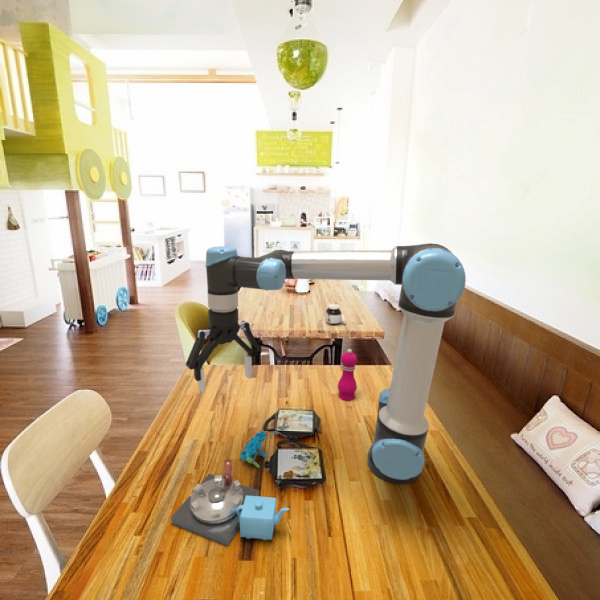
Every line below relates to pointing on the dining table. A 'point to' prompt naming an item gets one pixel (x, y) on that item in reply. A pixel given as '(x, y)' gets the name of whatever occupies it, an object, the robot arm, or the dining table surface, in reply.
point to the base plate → (211, 531)
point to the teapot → (258, 517)
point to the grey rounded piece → (217, 498)
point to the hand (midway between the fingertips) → (226, 383)
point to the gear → (253, 448)
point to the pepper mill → (347, 376)
